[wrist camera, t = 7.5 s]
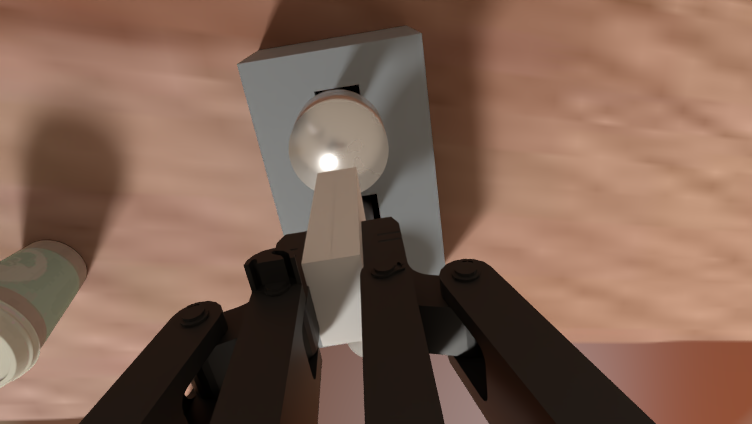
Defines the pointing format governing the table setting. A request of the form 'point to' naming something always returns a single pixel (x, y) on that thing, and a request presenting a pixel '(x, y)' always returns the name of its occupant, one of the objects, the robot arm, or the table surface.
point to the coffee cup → (34, 301)
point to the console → (395, 106)
